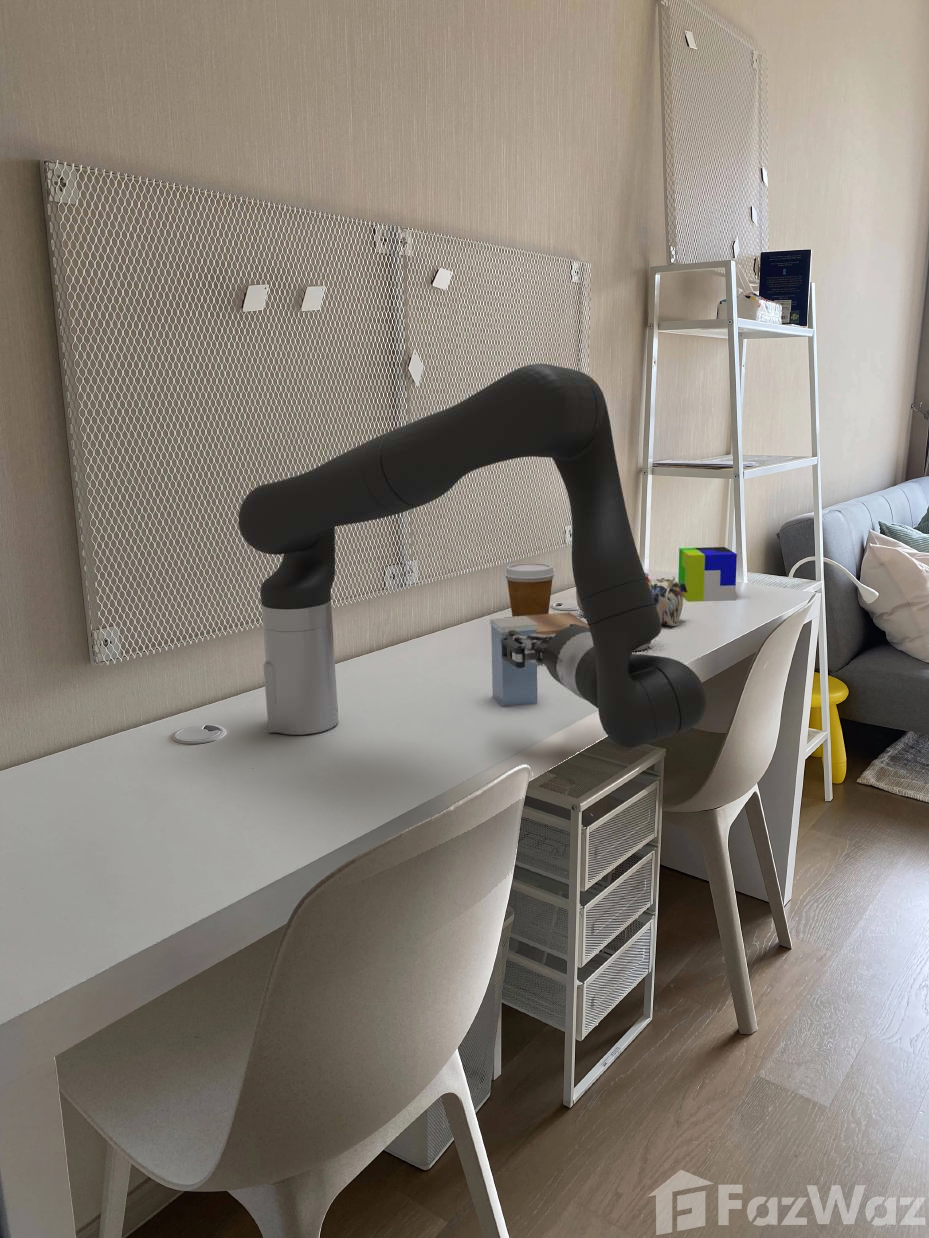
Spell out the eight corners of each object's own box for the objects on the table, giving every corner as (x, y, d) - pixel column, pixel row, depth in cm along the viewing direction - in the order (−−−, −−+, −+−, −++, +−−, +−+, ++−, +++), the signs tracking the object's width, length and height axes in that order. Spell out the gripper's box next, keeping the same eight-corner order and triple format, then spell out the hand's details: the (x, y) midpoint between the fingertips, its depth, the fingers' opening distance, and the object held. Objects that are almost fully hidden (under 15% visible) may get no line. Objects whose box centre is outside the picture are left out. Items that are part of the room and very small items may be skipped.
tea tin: (502, 707, 135) (501, 627, 132) (491, 696, 140) (490, 619, 138) (538, 703, 136) (537, 623, 134) (526, 692, 142) (525, 616, 139)
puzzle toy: (735, 600, 200) (736, 554, 198) (687, 601, 201) (689, 555, 198) (723, 591, 210) (724, 546, 208) (678, 592, 210) (679, 548, 208)
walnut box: (523, 668, 155) (522, 632, 154) (504, 650, 167) (504, 617, 166) (592, 662, 158) (592, 627, 157) (569, 644, 169) (569, 612, 168)
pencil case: (688, 622, 183) (690, 572, 181) (669, 631, 176) (670, 580, 174) (590, 610, 196) (590, 563, 194) (568, 618, 189) (568, 570, 187)
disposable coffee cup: (543, 621, 187) (542, 561, 184) (563, 631, 178) (563, 568, 175) (498, 625, 184) (497, 565, 181) (516, 636, 175) (515, 573, 172)
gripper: (644, 626, 110) (591, 601, 126) (529, 639, 107) (488, 611, 122) (644, 688, 112) (592, 656, 127) (531, 702, 109) (490, 667, 124)
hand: (541, 634), depth 125 cm, fingers open, 8 cm apart
